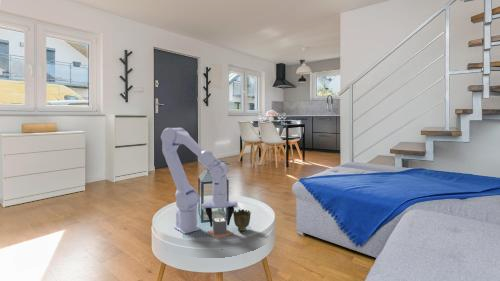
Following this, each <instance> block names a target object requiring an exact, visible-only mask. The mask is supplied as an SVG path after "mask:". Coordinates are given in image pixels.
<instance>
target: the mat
mask: <svg viewBox="0 0 500 281" xmlns="http://www.w3.org/2000/svg"><path fill="white" fill-rule="evenodd" d="M205 233H206V234H208V235H209V236H211V237H212V238H215V239H217V240H219V239H221V238H224V237H227V236H231V235H233V234H234V231H231V230H229V229H227V234H217V235H214V232H213V229H210V230H208V231H206V232H205Z"/></svg>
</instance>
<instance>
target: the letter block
mask: <svg viewBox="0 0 500 281" xmlns="http://www.w3.org/2000/svg"><path fill="white" fill-rule="evenodd" d="M212 230H213V232H214V235H217V234H227V230H228V229H227V218H225V217H215V218H213V217H212Z"/></svg>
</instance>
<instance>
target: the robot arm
mask: <svg viewBox="0 0 500 281" xmlns="http://www.w3.org/2000/svg"><path fill="white" fill-rule="evenodd" d="M159 138H160V139H161V143H162V145H161V151H162V155H163V157H164V158H165V162H166V164H167V168H168V169H169V172H170V175H171V178H172V180H173V183H174V185H175V187H176V191H175V195H174V197H175V199H176V200H175V201H176V202H175V204H176V207H177V210H176V212H175V220H176V221H175V226H174V229H176V230H177V231H179V232H180V233H182V234H183V235H186V234H189V233H192V232H196V231H200V230H202V227H200V226H198V204H199V202H200V200H201V199H200V194H199V193H198V192H197V191H196V190H195V187H193V186H192V185H191V184H190V182H189V180H188V178H187V175H186V172H185V170H184V167H183V165H182V162H181V160H180V157H179V154H178V148H179V146H180V145H184V146H185V147H187V148H188V149H189V150H190V151H191V152H192V153H193V154H194V155H196V156H197V160H198V162H199V163H200V164H201V165H202V166H203V167H204V168H206V169H207V171H209V175H210V178H212V201H211V202H205V203H201V210H202V211H204V210H205V213H206V215H207V217H208V220H209V224H210V227H211V228H213V209H226V226H230V221H231V218H232V216H233V212H235V208H238V202H237V201H227V200H228V199H227V198H228V196H227V195H228V194H227V193H228V192H227V191H228V189H227V175H228V173H229V166H228V164H226V162H224V161H221V160H220V159H218V158H217V157H215V155H214V154H213V151H210V150H206V149H205V150H204V149H203V147H201V146H200V145H199V143H197V141H196V140H195V139H194V138H193V137H192V136H191V135H190V134H189V132H188V131H187V130H185V129H184V128H183V127H166V128H164V129H163V130H162V133H161V135H160V137H159Z"/></svg>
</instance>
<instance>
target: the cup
mask: <svg viewBox="0 0 500 281" xmlns="http://www.w3.org/2000/svg"><path fill="white" fill-rule="evenodd" d="M251 214H252V211H250V210H247V209H246V210H244V209H238V210H234V212H233V214H232V216H233V223H234V225H235V227H237V230H238V232H246V230H247V227H248V226H249V225H250V221H251Z"/></svg>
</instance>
